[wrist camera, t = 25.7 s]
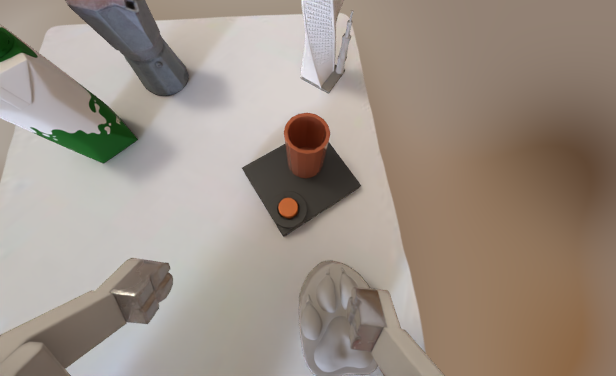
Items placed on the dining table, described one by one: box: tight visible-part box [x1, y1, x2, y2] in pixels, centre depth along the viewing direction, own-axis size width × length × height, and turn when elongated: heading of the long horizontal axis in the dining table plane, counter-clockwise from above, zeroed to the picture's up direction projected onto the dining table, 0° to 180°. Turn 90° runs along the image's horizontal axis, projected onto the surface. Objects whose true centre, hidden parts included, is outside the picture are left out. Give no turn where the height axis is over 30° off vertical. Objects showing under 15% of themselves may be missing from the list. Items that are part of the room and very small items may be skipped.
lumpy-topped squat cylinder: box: [299, 261, 378, 376], centre depth 30 cm, size 10×13×9 cm
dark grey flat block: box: [242, 142, 361, 236], centre depth 38 cm, size 16×14×4 cm
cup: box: [284, 113, 330, 178], centre depth 34 cm, size 6×6×10 cm
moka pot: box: [65, 0, 188, 96], centre depth 36 cm, size 10×15×20 cm, turn 62°
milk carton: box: [0, 24, 138, 163], centre depth 31 cm, size 9×9×20 cm
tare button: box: [278, 198, 298, 218], centre depth 34 cm, size 3×3×2 cm
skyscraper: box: [301, 0, 353, 93], centre depth 34 cm, size 8×8×28 cm
